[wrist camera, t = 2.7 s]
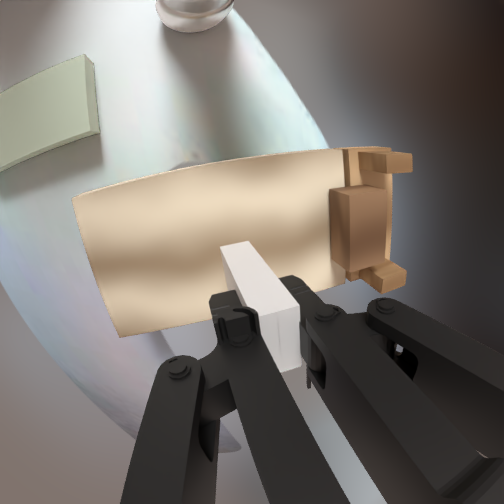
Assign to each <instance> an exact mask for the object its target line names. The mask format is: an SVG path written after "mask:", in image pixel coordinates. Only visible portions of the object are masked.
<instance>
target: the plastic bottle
mask: <svg viewBox="0 0 504 504" xmlns="http://www.w3.org/2000/svg"><path fill="white" fill-rule="evenodd" d="M233 4H234V0H156V11H157V13H158V15H159V17H160V19H161V21H162V22H163V23H164V24H165V25H166V26H167V27H169V28H171V29H173V30H176V31H179V32H186V33H191V32H200V31H204V30H207V29H210V28H212V27H214V26H216V25H217V24H218V23H220V22H221V21H222V20H223V19H224V18H225V17H226V16H227V15H228V14H229V12H230V11H231V9H232V7H233Z"/></svg>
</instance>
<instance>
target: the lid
mask: <svg viewBox="0 0 504 504" xmlns="http://www.w3.org/2000/svg"><path fill="white" fill-rule="evenodd" d="M340 187H345V184H344V167H343V153H342V150H341V149H317V150H305V151H294V152H285V153H276V154H267V155H259V156H252V157H245V158H238V159H231V160H225V161H219V162H213V163H207V164H201V165H197V166H191V167H186V168H181V169H176V170H171V171H166V172H162V173H157V174H153V175H148V176H144V177H140V178H136V179H132V180H128V181H124V182H120V183H116V184H113V185H109V186H105V187H102V188H98V189H95V190H91V191H88V192H84V193H81V194H79V195H77V196H76V197H74V198H72V203H73V207H74V211H75V215H76V219H77V223H78V226H79V230H80V233H81V237H82V240H83V244H84V247H85V250H86V253H87V256H88V259H89V262H90V265H91V268H92V271H93V274H94V277H95V280H96V282H97V285H98V288H99V290H100V293H101V295H102V298H103V301H104V303H105V306H106V308H107V310H108V313H109V315H110V317H111V320H112V322H113V324H114V327H115V329H116V331H117V333H118V335H119V338H121V337H126V336H132V335H137V334H143V333H148V332H153V331H158V330H163V329H168V328H173V327H178V326H182V325H187V324H192V323H196V322H201V321H205V320H209V319H212V315H211V311H210V307H209V300H210V298H211V295H213V294H217V293H222V292H226V291H228V288H227V283H226V278H225V273H224V267H223V262H222V256H221V251H220V247H221V246H226V245H231V244H235V243H240V242H245V241H249V242H250V243H251V245H252V246H253V247H254V248H255V250H256V251H257V252H258V253H259V255H260V256H261V257H262V258H263V260H264V261H265V262H266V264H267V265H268V266H269V267H270V269H271V270H272V271H273V272H274V274H275V275H276V276H277V277H278V278H281V277H285V276H289V275H294V276H296V277H298V278H301V279H302V280H303V281H304V282H305V283H306V284H307V285H308V286H309V287H310V288H311V290H312V291H313V292H318V291H321V290H325V289H328V288H331V287H335V286H338V285H341V284H345V274H346V270H345V269H344V268H342V267H341V266H340V265H338V264H337V263H336V262H334V261H333V260H332V259H331V222H330V199H329V189H332V188H340Z"/></svg>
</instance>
